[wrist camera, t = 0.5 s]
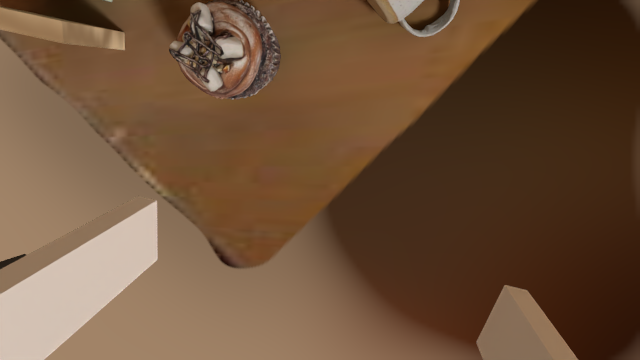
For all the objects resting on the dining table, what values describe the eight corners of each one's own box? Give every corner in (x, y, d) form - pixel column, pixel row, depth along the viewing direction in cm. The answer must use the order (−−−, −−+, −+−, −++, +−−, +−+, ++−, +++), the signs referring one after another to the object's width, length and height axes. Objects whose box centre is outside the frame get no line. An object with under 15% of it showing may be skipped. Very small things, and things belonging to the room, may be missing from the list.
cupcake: (266, 112, 37) (231, 124, 28) (196, 70, 37) (138, 68, 27) (303, 37, 34) (278, 21, 24) (227, -10, 33) (172, -44, 24)
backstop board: (27, 11, 37) (-59, -5, 30) (124, 32, 36) (61, 20, 29) (29, 29, 38) (-54, 17, 31) (124, 50, 37) (63, 43, 30)
